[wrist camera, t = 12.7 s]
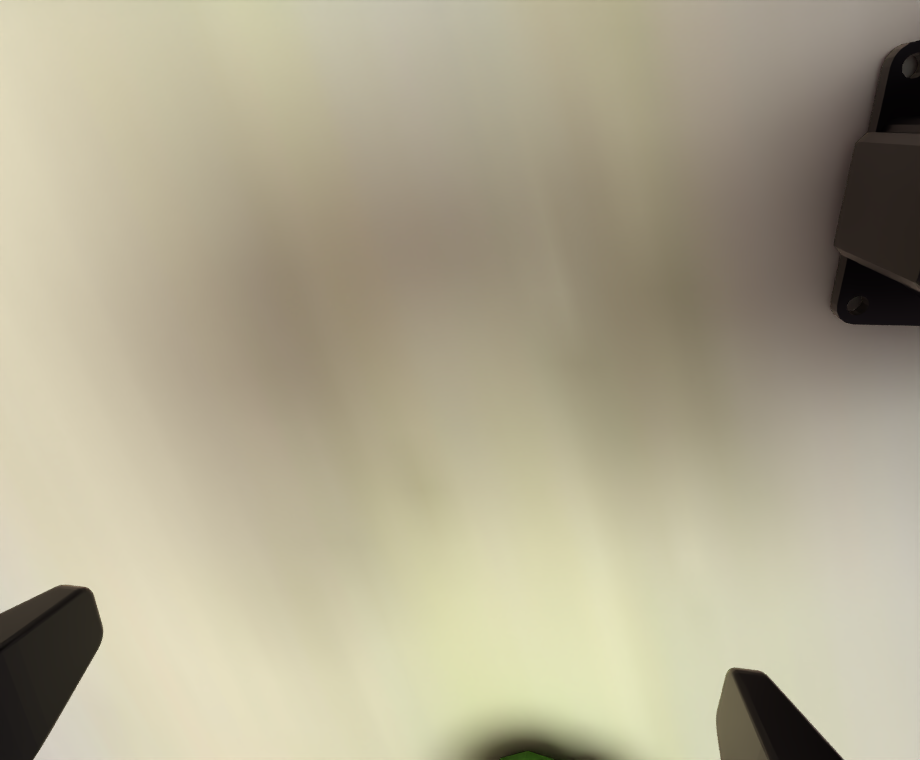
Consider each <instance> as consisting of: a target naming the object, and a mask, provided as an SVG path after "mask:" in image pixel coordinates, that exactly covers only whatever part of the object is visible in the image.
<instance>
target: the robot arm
mask: <svg viewBox="0 0 920 760" xmlns="http://www.w3.org/2000/svg"><path fill="white" fill-rule="evenodd" d="M910 55H913V56H915V57H916V59H917V60H918V68H917V70H916V72H915V73H914V74H913V75H912V76H911V77H910V78H907V77H905V76H904V74H903V73H902V65H903V63H904V61H905V59H906V58H908V57H909V56H910ZM834 246H835V247H836V249H837V250H838V251H839V252H840V253H841V256H840V260H839V265H838V270H837V274H836V279H835V283H834V288H833V292H832V297H831V310H832V312H833V314H834V315H836V316H837V317H838V318H840V319H841V320H843V321H844V322H846V323H850V324H863V325H909V326H920V40H919V41H915V42H910V43H906V44H902V45H900V46H898V47H897V48H895V49H894V50H892V51H891V53H890V54H889V55H888V56H887V57H886V58H885V61H884V63H883V66H882V68H881V73H880V78H879V82H878V87H877V91H876V96H875V100H874V105H873V110H872V114H871V119H870V123H869V128H868V132H867V133H866V134H865V135H864V136H863V137H862V138H861V139H859V140H858V141H857V142H856V144H855V147H854V151H853V156H852V161H851V165H850V170H849V175H848V179H847V184H846V189H845V194H844V198H843V203H842V208H841V212H840V217H839V222H838V226H837V231H836V236H835V241H834ZM857 296H861V297H862V302H861V304H860V306H859V307H858V308H856V309H855V310H851V311H847V304H848V303H849V301H850V300H851V299H852V298H854V297H857ZM102 637H103V626H102V622H101V619H100V615H99V612H98V608H97V605H96V601H95V598H94V595H93V592H92V591H91V590H90V589H89V588H86V587H81V586H73V585H60V586H57V587H54V588H52V589H50V590H48V591H46V592H44V593H42V594H40V595H38V596H36V597H34V598H32V599H30V600H28V601H25V602H23V603H21V604H19V605H17V606H15V607H13V608H11V609H9V610H7V611H5V612H3V613H1V614H0V760H33V759H34V758H35V756H36V755H37V753H38V752H39V750H40V748H41V747H42V745H43V743H44V742H45V740H46V738H47V737H48V735H49V734H50V732H51V730H52V728H53V727H54V725H55V723H56V721H57V720H58V718H59V716H60V715H61V713H62V711H63V709H64V708H65V706H66V704H67V702H68V701H69V699H70V697H71V695H72V694H73V692H74V690H75V688H76V687H77V685H78V683H79V681H80V680H81V678H82V676H83V674H84V673H85V671H86V669H87V668H88V666H89V664H90V662H91V661H92V659H93V657H94V655H95V654H96V652H97V650H98V648H99V646H100V644H101V641H102ZM716 728H717V736H718V743H719V750H720V756H721V760H844V759H843V758H842V757H841V756H840V755H839V754H838V753H837V752H836V750H835V749H834V748H833V747H832V746H831V745H830V744H829V743H828V742H827V741H826V739H825V738H824V737H823V736H822V735H821V734H820V733H819V732H818V731H817V729H816V728H815V727H814V726H813V725H812V724H811V723H810V722H809V721H808V720H807V718H806V717H805V716H804V715H803V714H802V713H801V712H800V711H799V710H798V709H797V707H796V706H795V705H794V704H793V703H792V702H791V701H790V700H789V699H788V698H787V696H786V695H785V694H784V693H783V692H782V691H781V690H780V689H779V688H778V686H777V685H776V684H775V683H774V682H773V681H772V680H771V679H770V678H769V677H768V676H767V675H766V674H765V673H763V672H761V671H758V670H750V669H742V668H731V669H729V670H728V672H727V674H726V677H725V681H724V685H723V689H722V693H721V697H720V701H719V705H718V709H717V715H716Z"/></svg>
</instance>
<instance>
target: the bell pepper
mask: <svg viewBox="0 0 920 760" xmlns="http://www.w3.org/2000/svg"><path fill="white" fill-rule="evenodd" d="M499 760H555V759H552V758H549V757H546V756H542V755H539V754H536V753H533V752H530V751H525V752H521V753H518V754H514V755H510V756H507V757H503V758H501V759H499Z"/></svg>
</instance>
